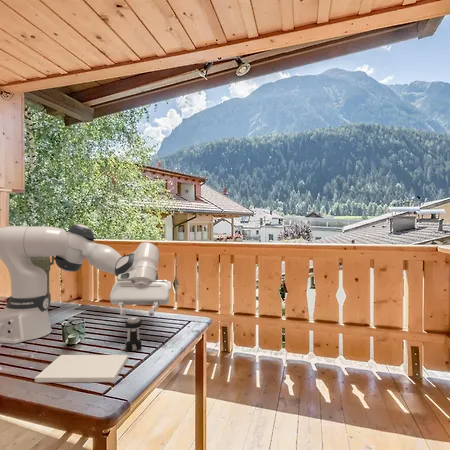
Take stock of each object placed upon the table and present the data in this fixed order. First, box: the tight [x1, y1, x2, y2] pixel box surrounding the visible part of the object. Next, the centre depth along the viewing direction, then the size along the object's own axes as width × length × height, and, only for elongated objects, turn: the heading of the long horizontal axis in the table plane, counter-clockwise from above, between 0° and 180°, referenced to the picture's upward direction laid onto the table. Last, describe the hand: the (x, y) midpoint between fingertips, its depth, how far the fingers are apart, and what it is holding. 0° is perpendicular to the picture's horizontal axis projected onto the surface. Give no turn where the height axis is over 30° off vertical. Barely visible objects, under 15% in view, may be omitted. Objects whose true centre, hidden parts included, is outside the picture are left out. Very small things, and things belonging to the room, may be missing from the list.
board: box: [34, 354, 129, 383], centre depth 90 cm, size 20×14×1 cm
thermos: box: [30, 256, 55, 309], centre depth 152 cm, size 9×12×35 cm
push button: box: [120, 316, 143, 352], centre depth 105 cm, size 7×5×10 cm
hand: (137, 315), depth 109 cm, fingers open, 8 cm apart
